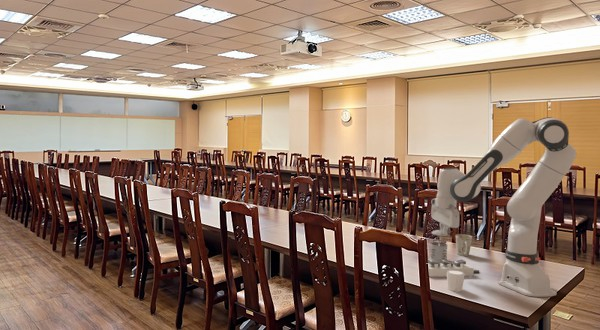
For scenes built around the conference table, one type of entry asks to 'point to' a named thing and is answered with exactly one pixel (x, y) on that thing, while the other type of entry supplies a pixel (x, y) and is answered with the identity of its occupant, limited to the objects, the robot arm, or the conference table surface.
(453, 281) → the shot glass
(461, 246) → the mug
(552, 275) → the conference table surface
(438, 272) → the rocker switch panel
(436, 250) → the french press
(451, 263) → the plate
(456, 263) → the rocker
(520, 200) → the robot arm
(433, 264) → the block
